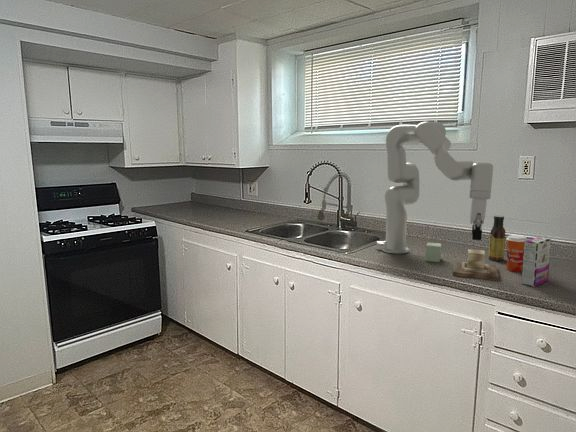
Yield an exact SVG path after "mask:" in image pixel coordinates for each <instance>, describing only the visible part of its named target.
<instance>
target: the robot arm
mask: <svg viewBox="0 0 576 432" xmlns="http://www.w3.org/2000/svg"><path fill="white" fill-rule="evenodd" d="M446 135H447V130H446V127H445V125H444V124H443V123H442V122H439V121H421V122H420V123H418V124H417V125H416V124H400V125H398V124H397V125H395V126H392V127H391V128H390V129H389V130H388V132H387V134H386V137H385V147H386V153H387V154H386V155H387V179H388V181H389V182H391V183H393V184H402V185H395V186H390V187H389V188H388V189H387V190H386V192H385V193H384V201H385V208H386V210H385V211H386V217H385V218H386V220H385V221H386V225H385V240H384V241H379V240H378V241H376V245H377V246H379V247H382V252H384V253H388V254H396V255H401V254H402V255H403V254H407V253H409V251H410V248H409V247H406V246H407V223H408V221H407V218H408V215H407V210H406V208H405V206H410V205H414V204H415V203H417V202H418V201H419V198H420V170H419V168H418V167H417V165H416V164H414V163H413V162H407V154H406V150H405V148H404V146H403V145H405V144H406V145H407V144H409V145H411V144H412V145H413V144H416V145H417V144H418V145H419V144H422V145H424V147H425V148H426V149H427V150H428V151H429V152H430V153H431V154H432V155H433V160H434V164H435V167H437V169H438V170H439V171H440V172H441V173H442V174H443V176H445V177H446V178H447V179H449V180H451V181H455V182H457V181H468V180H469V181H470V185H469V195H468V196H469V199H471V205H470V213H469V214H470V216H469V223H470V224H471V226H472V229H471V235H472V236H471V239H472V240H474V241H482V237H483V235H482V234H483V230H482V227H483V224H484V223H485V219H486V211H487V205H488V203H487V201H488V200H490V199H491V196H492V195H491V194H492V183H493V175H494V174H493V173H494V165H493V164H492V163H489V162H476V161H471V160H469V161H468V160H465V161H464V160H463V161H462V160H461V161H459V160H458V161H457V160H455V159H454V157H452V155H450V154H449V152H448V151H449V150H450V149H451V145H452V142H451V140H449V138H448V137H447V136H446Z"/></svg>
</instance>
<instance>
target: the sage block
mask: <svg viewBox="0 0 576 432" xmlns="http://www.w3.org/2000/svg"><path fill="white" fill-rule="evenodd" d="M441 253H442V243H437V242H426V246H425V259H424V260H425V261H426V262H437V263H441V257H442V256H441V255H442V254H441Z"/></svg>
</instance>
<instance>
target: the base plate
mask: <svg viewBox="0 0 576 432" xmlns="http://www.w3.org/2000/svg"><path fill="white" fill-rule="evenodd" d="M453 264H454V265H453V273H452V275H453V276H454V277H463V278H470V279H471V278H472V279H473V278H474V279H480V280H481V279H482V280H490V281H491V280H493V281H500V280H499V278H500V276H499V271H498V268H497V267H498V266H497V265H496V264H488V263H484V270H482V269H471V268H467V262H466V261H454V263H453Z"/></svg>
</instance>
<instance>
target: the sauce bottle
mask: <svg viewBox="0 0 576 432" xmlns="http://www.w3.org/2000/svg"><path fill="white" fill-rule="evenodd" d="M504 220H505V216H504V215H501V214H497V215H496V214H495V215H493V225H492V228H491V230H490V232H489V242H488V243H489V245H488V259H489V260H492V261H497V262H501V261H504V258H505V249H506V235H507V234H506V233H507V232H506V229H505V228H504Z"/></svg>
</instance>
